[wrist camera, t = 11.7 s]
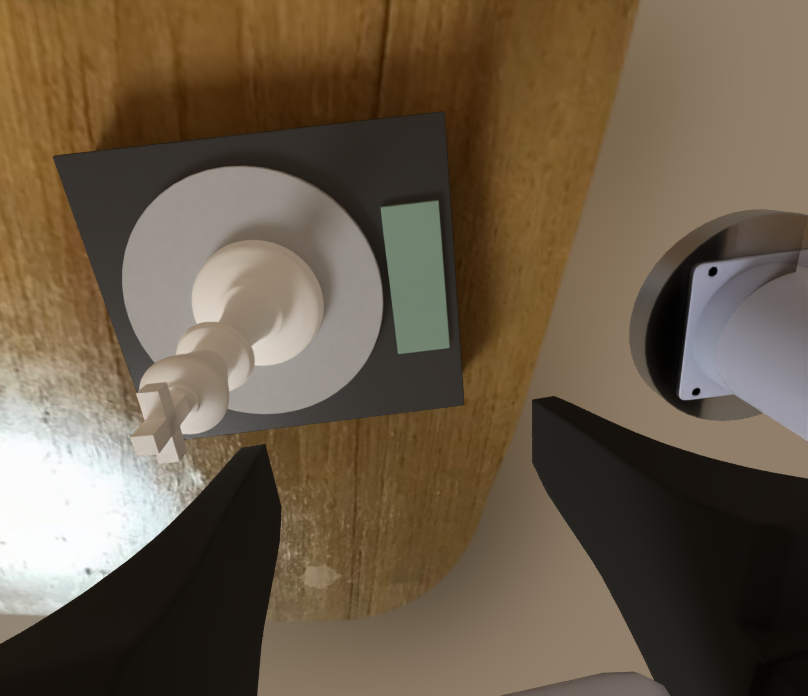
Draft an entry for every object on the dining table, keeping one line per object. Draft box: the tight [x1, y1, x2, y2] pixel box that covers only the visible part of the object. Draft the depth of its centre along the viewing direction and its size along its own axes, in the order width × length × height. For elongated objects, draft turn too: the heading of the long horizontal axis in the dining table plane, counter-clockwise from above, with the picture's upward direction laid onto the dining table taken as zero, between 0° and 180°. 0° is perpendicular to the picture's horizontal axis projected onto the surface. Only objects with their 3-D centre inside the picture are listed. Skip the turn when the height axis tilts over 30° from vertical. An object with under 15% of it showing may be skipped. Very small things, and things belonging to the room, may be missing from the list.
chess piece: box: [130, 240, 324, 464], centre depth 14 cm, size 5×5×10 cm
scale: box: [53, 111, 464, 440], centre depth 20 cm, size 14×12×3 cm
